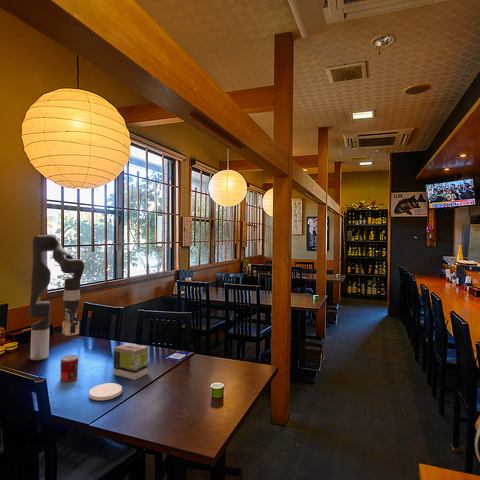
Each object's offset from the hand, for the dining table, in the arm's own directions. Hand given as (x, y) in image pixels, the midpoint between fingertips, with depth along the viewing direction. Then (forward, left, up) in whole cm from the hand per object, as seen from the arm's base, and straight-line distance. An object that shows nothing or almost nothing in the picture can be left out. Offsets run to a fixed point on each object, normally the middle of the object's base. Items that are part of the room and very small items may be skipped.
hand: (70, 331), depth 165 cm
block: (0, 0, -1) cm, 1 cm away
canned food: (0, 0, -24) cm, 24 cm away
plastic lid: (+28, +7, -25) cm, 38 cm away
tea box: (+14, +26, -24) cm, 38 cm away
